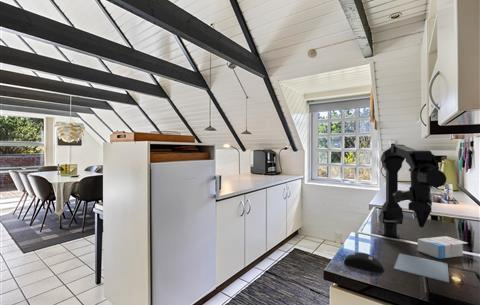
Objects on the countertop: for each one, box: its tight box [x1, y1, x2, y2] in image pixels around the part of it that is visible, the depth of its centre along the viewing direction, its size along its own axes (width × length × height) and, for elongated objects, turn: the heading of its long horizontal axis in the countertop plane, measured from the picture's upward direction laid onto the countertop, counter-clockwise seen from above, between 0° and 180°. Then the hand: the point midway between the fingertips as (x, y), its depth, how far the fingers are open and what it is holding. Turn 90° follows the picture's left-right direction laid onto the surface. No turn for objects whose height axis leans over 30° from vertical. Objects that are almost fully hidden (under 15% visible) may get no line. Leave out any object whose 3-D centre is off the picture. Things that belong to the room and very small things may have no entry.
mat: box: [393, 253, 450, 283], centre depth 81 cm, size 16×14×1 cm
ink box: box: [417, 235, 469, 260], centre depth 92 cm, size 8×5×15 cm
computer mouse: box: [343, 252, 385, 273], centre depth 82 cm, size 8×12×4 cm, turn 51°
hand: (421, 227), depth 86 cm, fingers closed
